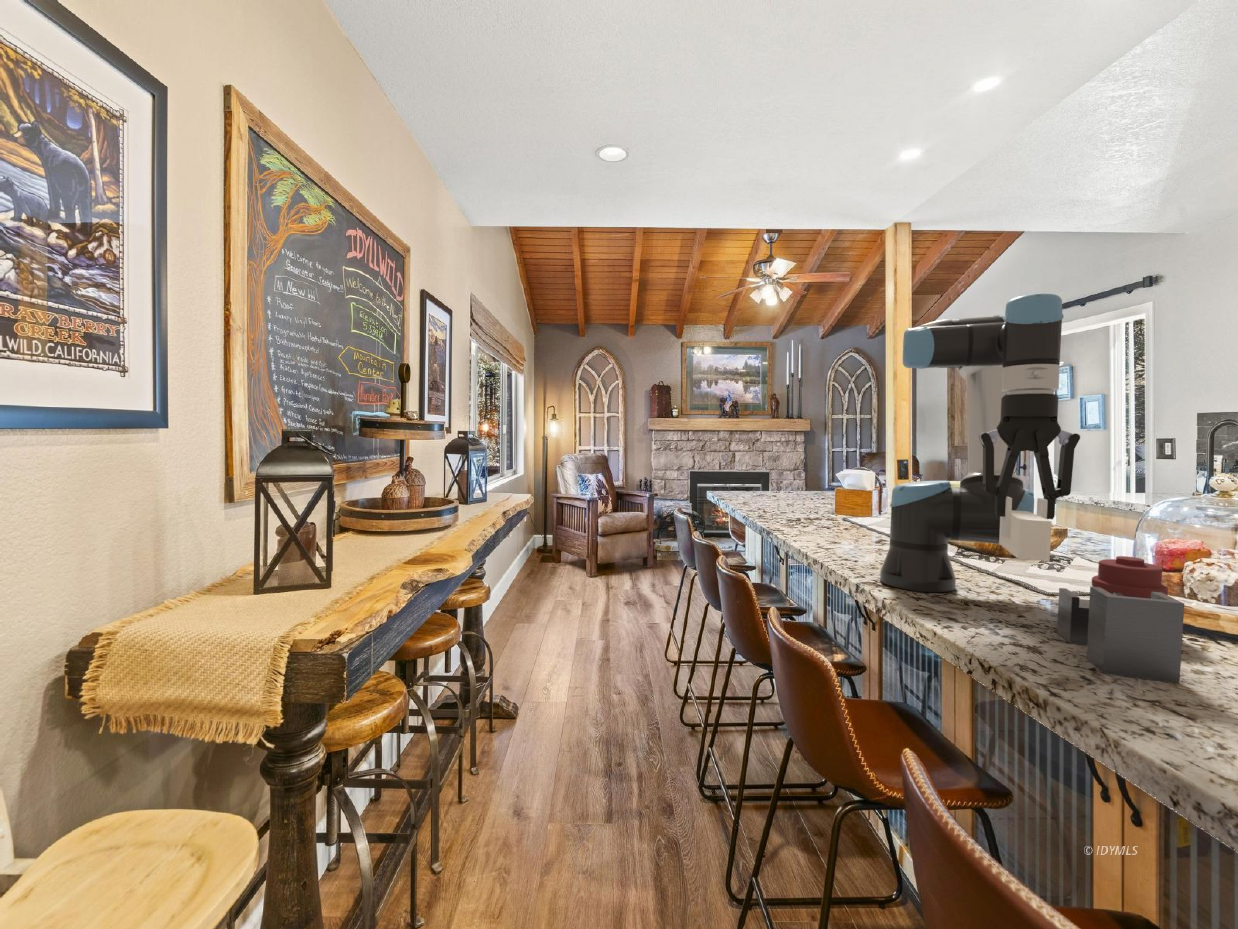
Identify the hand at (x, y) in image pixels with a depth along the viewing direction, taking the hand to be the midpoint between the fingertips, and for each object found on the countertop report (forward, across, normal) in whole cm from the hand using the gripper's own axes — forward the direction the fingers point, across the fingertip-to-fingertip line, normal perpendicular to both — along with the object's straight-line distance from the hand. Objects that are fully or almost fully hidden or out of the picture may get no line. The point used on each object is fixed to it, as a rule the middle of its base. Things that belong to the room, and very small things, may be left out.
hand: (1023, 537), depth 94 cm
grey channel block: (+17, +11, +5) cm, 21 cm away
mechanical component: (+17, +19, +16) cm, 30 cm away
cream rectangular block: (+2, 0, 0) cm, 2 cm away
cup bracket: (+17, +12, -8) cm, 22 cm away
